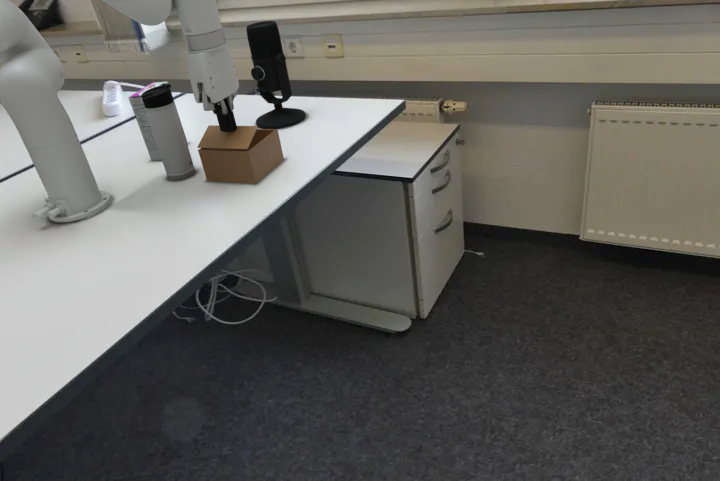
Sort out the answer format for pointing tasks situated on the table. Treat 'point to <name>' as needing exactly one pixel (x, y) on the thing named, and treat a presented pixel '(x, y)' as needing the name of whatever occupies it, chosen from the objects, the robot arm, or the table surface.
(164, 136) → the travel mug
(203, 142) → the front flap
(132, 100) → the candy bar box
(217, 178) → the carton
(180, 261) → the table surface
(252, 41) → the microphone
